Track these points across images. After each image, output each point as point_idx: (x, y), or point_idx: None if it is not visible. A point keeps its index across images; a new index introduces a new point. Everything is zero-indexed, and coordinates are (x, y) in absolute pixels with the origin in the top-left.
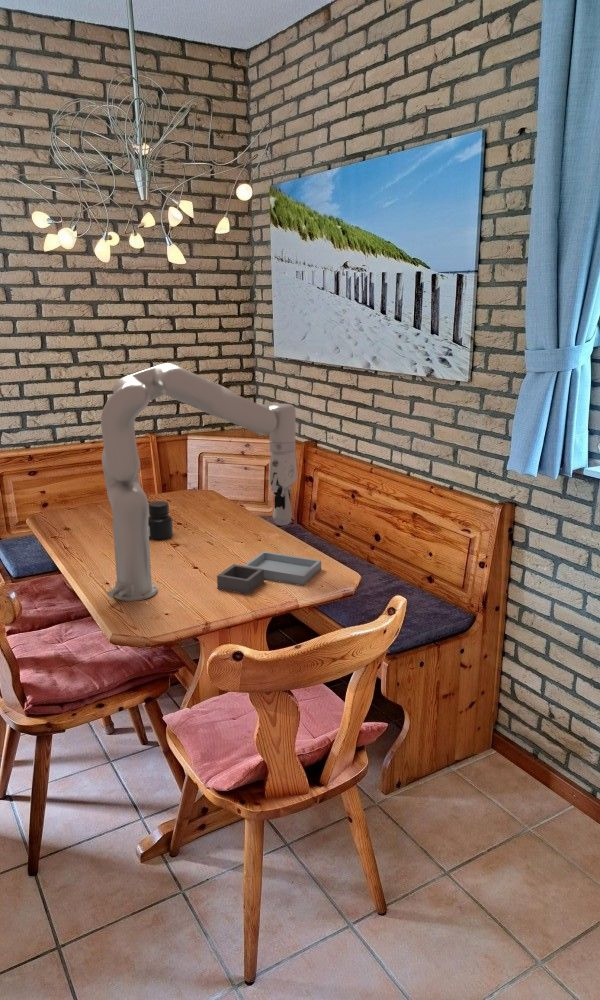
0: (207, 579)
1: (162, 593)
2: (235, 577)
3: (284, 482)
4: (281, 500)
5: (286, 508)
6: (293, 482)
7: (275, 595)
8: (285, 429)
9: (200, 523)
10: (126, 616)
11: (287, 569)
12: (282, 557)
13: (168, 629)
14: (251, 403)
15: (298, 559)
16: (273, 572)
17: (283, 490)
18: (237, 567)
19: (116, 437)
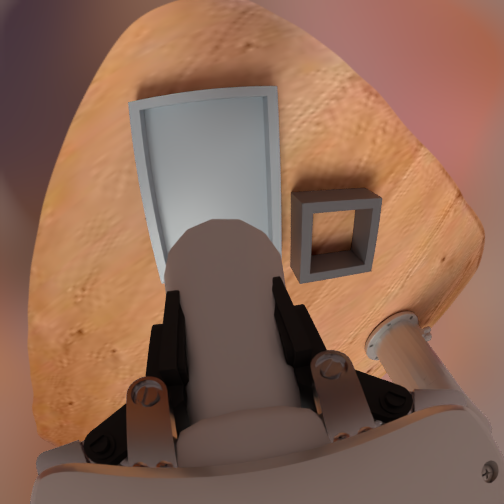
0: (322, 296)
1: (389, 309)
2: (370, 234)
3: (489, 442)
4: (308, 337)
5: (261, 271)
6: (159, 480)
7: (350, 130)
8: None
9: (108, 417)
10: (447, 292)
11: (200, 174)
12: (157, 221)
13: (472, 229)
14: None
15: (148, 171)
16: (279, 180)
17: (340, 406)
18: (309, 267)
19: None
